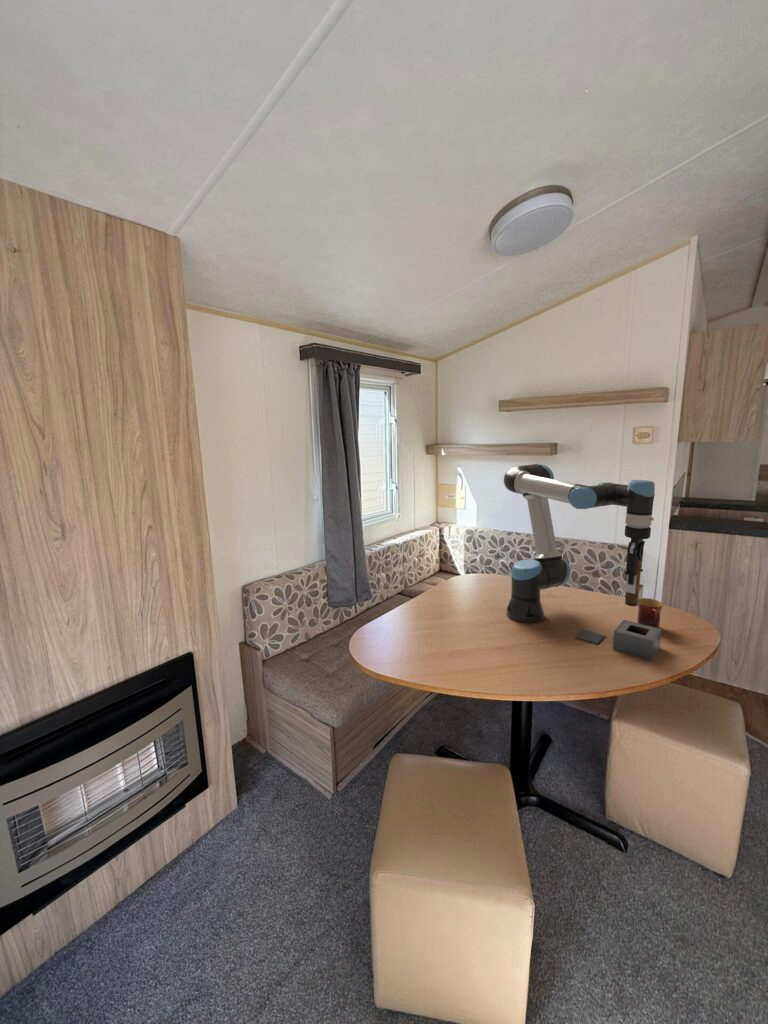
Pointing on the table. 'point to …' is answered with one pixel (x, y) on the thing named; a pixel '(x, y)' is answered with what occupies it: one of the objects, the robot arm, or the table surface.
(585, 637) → the coaster
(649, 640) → the grey hollow block
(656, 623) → the mug
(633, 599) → the brown cylinder
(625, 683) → the table surface
